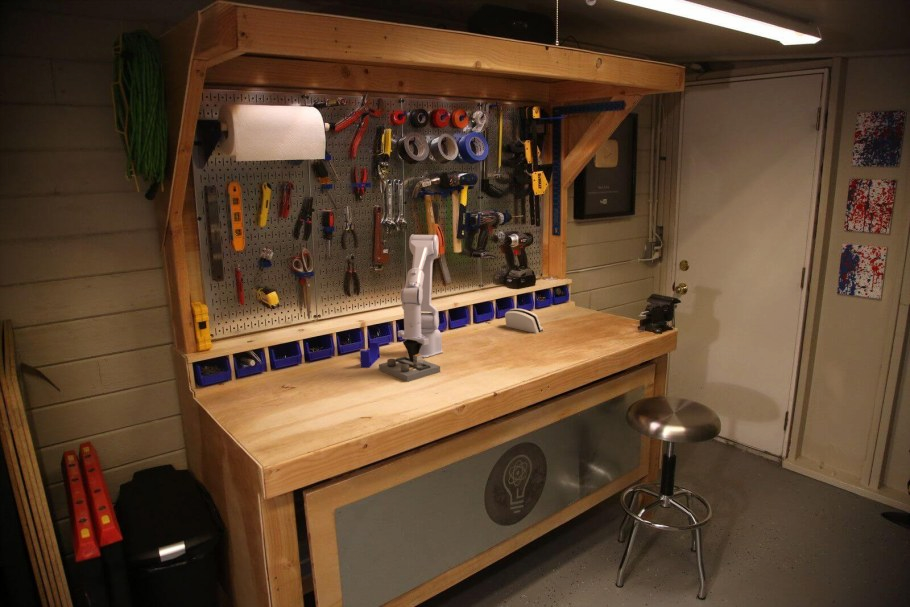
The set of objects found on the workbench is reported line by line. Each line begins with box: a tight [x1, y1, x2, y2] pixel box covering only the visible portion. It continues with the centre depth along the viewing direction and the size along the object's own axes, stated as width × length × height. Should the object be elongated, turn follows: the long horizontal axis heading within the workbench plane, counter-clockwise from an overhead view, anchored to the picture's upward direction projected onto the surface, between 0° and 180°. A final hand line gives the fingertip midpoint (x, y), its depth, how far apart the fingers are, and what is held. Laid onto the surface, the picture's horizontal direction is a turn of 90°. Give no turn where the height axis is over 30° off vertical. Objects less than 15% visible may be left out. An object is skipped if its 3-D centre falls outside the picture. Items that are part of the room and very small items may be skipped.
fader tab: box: [413, 354, 424, 367], centre depth 206 cm, size 3×2×4 cm
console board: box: [378, 355, 441, 383], centre depth 208 cm, size 14×16×4 cm
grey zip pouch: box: [504, 308, 544, 334], centre depth 257 cm, size 17×5×10 cm, turn 46°
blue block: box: [359, 341, 381, 369], centre depth 218 cm, size 12×4×6 cm, turn 169°
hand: (413, 360), depth 208 cm, fingers closed
